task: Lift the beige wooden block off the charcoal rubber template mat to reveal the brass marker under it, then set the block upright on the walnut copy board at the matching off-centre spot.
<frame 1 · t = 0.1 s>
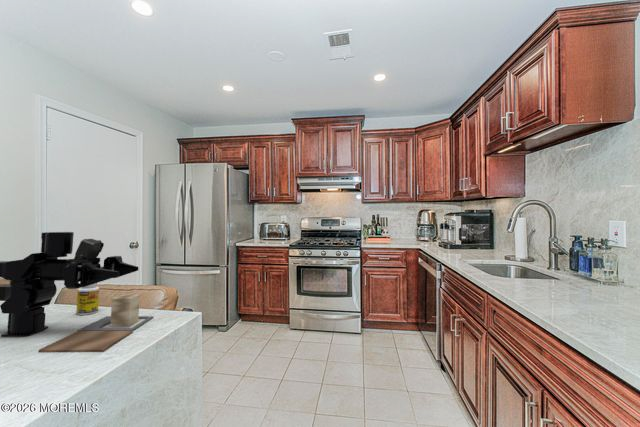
hand: (129, 271, 80), 17 cm above the worktop, tool horizontal, fingers open, 9 cm apart
beige wooden block: (124, 323, 85), resting on template mat
copy board: (89, 341, 72), on the worktop
template mat: (118, 324, 85), on the worktop
supplement bottle: (87, 313, 94), on the worktop
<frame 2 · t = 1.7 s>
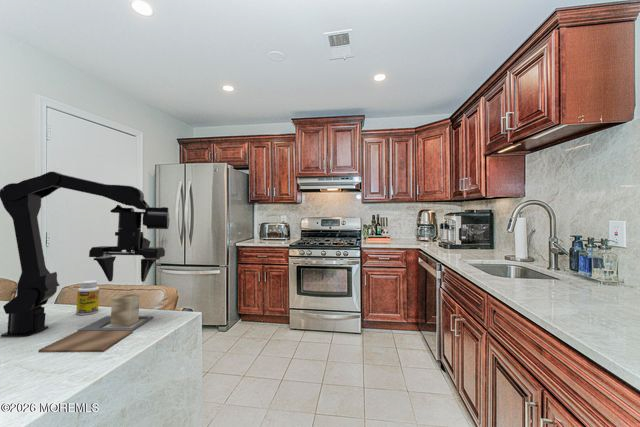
hand: (126, 281, 86), 12 cm above the worktop, tool pointing down, fingers open, 9 cm apart
nothing on the worktop moved.
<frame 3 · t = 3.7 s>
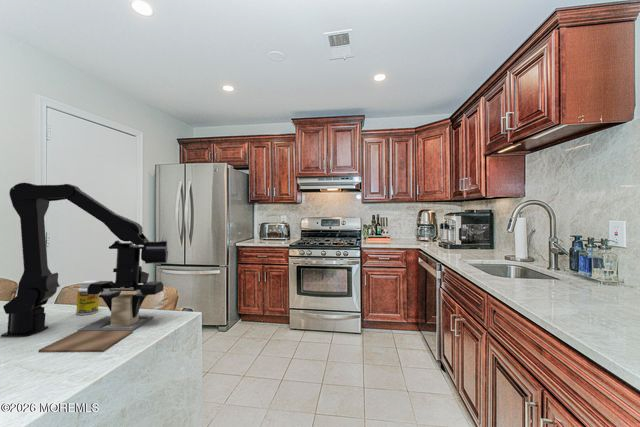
hand: (125, 317, 85), 2 cm above the worktop, tool pointing down, fingers closed on beige wooden block, 5 cm apart
beige wooden block: (124, 323, 85), resting on template mat, touching gripper
everything else where it was.
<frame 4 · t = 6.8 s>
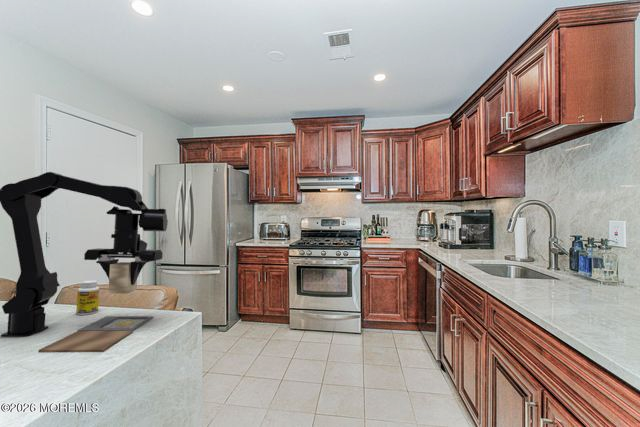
hand: (123, 284, 84), 12 cm above the worktop, tool pointing down, fingers closed on beige wooden block, 5 cm apart
beige wooden block: (122, 291, 84), point 10 cm above the worktop, touching gripper
everything else where it was.
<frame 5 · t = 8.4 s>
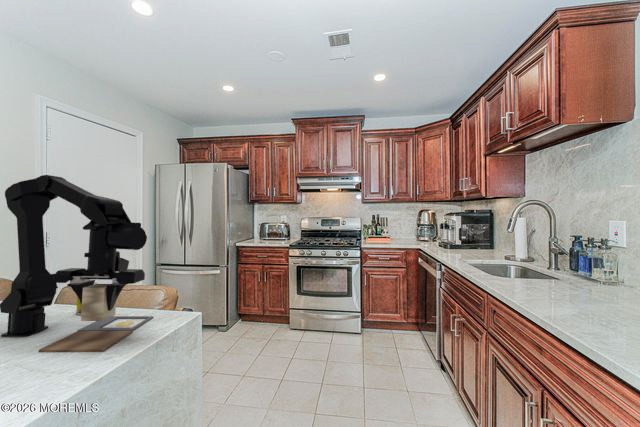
hand: (99, 310, 73), 8 cm above the worktop, tool pointing down, fingers closed on beige wooden block, 5 cm apart
beige wooden block: (98, 317, 73), point 6 cm above the worktop, touching gripper
everything else where it was.
when the fingers open (4 cm above the worktop, at t = 9.8 s): beige wooden block drops 1 cm, resting on copy board.
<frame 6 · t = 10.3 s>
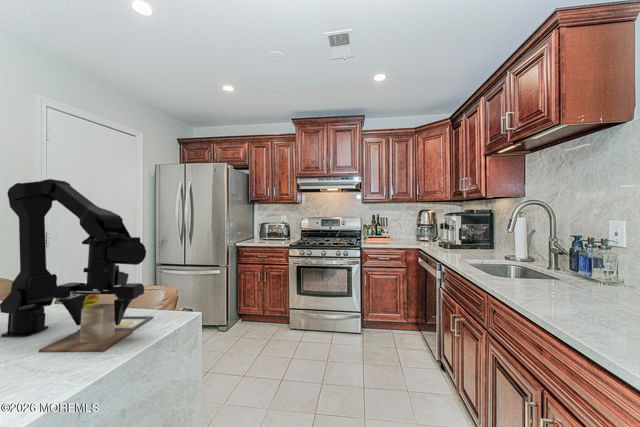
hand: (98, 325, 73), 4 cm above the worktop, tool pointing down, fingers open, 9 cm apart
beige wooden block: (97, 338, 73), point 1 cm above the worktop, touching copy board
everything else where it was.
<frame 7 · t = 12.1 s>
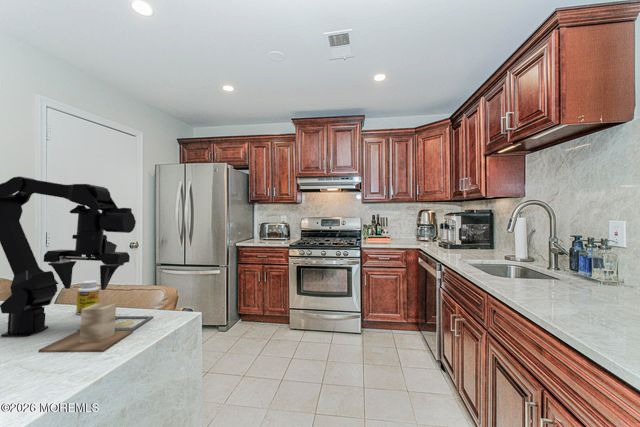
hand: (85, 289, 78), 12 cm above the worktop, tool pointing down, fingers open, 9 cm apart
nothing on the worktop moved.
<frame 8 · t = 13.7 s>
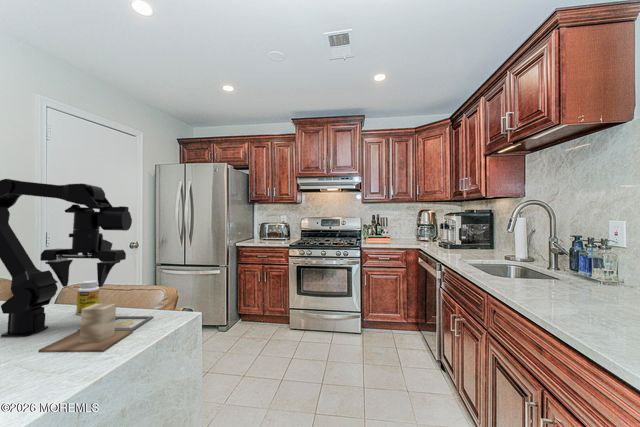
hand: (83, 286, 80), 12 cm above the worktop, tool pointing down, fingers open, 9 cm apart
nothing on the worktop moved.
at the end: beige wooden block 0.0 cm from the target spot on the copy board, point 0.6 cm above the copy board's base; beige wooden block tilted 0°; the gripper is holding nothing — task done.
